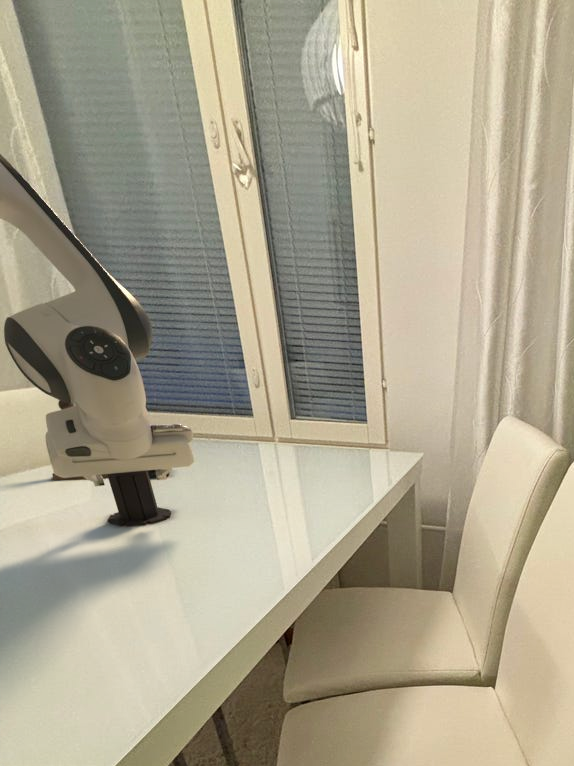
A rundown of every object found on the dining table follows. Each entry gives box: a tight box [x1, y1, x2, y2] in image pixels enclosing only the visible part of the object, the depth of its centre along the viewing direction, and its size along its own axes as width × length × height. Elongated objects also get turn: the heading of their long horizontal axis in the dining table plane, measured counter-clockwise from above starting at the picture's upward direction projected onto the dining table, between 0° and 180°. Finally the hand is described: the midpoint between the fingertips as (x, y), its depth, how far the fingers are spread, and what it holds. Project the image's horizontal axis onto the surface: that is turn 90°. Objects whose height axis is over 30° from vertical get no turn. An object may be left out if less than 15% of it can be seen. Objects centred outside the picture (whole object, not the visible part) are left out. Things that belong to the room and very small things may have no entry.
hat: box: [107, 470, 172, 527], centre depth 99 cm, size 10×10×9 cm
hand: (130, 479), depth 95 cm, fingers open, 8 cm apart
